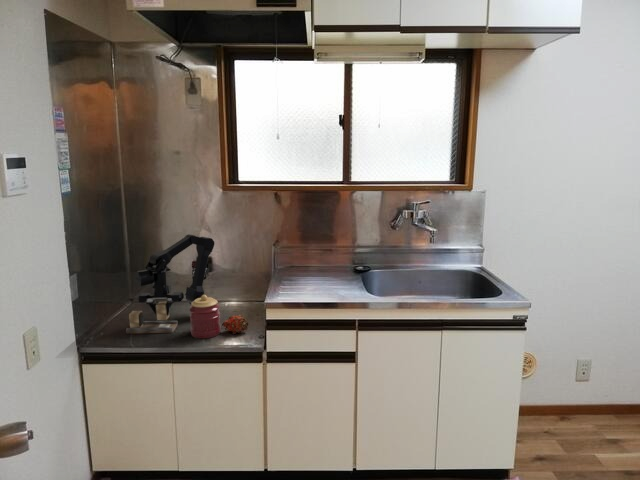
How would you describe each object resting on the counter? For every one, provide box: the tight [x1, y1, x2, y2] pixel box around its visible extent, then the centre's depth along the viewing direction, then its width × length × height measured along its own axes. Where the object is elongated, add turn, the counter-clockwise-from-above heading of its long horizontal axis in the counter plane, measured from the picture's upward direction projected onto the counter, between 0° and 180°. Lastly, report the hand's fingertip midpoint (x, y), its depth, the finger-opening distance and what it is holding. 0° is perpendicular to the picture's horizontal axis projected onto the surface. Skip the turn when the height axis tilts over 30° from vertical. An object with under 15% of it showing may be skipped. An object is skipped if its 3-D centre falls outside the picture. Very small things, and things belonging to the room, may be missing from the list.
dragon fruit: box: [221, 314, 249, 335], centre depth 200 cm, size 8×8×12 cm
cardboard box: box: [155, 300, 170, 321], centre depth 203 cm, size 5×5×7 cm
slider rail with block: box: [125, 310, 179, 335], centre depth 204 cm, size 20×9×8 cm, turn 93°
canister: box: [188, 294, 222, 339], centre depth 198 cm, size 13×13×18 cm
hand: (162, 315), depth 203 cm, fingers closed on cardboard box, 5 cm apart
